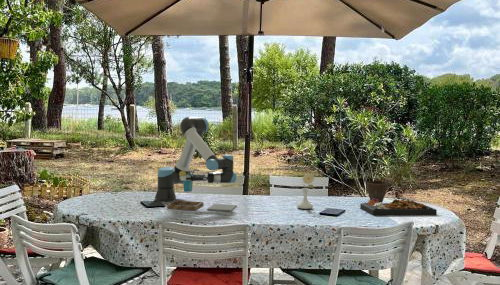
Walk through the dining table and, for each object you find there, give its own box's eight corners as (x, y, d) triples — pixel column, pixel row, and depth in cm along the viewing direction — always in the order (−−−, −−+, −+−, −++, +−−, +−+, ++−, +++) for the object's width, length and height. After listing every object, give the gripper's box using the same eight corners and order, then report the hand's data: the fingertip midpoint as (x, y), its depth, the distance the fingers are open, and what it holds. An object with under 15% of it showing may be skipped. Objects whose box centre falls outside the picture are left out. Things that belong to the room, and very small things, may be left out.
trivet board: (207, 210, 416) (207, 208, 416) (214, 205, 435) (214, 203, 435) (230, 211, 413) (230, 210, 413) (236, 206, 432) (236, 205, 432)
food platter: (373, 216, 412) (373, 201, 412) (360, 209, 437) (360, 195, 436) (436, 216, 420) (437, 200, 419) (420, 209, 444) (421, 195, 444)
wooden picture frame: (167, 208, 419) (167, 204, 419) (175, 203, 437) (175, 200, 436) (196, 210, 415) (196, 206, 415) (203, 205, 433) (203, 202, 433)
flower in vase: (293, 208, 431) (294, 172, 429) (303, 206, 440) (304, 171, 438) (308, 211, 422) (309, 174, 421) (318, 209, 431) (319, 173, 429)
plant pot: (378, 206, 448) (379, 184, 446) (361, 203, 459) (362, 181, 458) (390, 204, 457) (391, 182, 456) (374, 201, 469) (375, 180, 467)
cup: (199, 190, 428) (199, 168, 428) (199, 191, 420) (199, 169, 420) (179, 191, 428) (179, 169, 428) (178, 191, 420) (178, 169, 420)
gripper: (215, 185, 418) (181, 185, 413) (211, 180, 438) (178, 181, 433) (215, 174, 417) (181, 174, 413) (211, 170, 437) (179, 170, 433)
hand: (180, 177), depth 423 cm, fingers closed on cup, 8 cm apart
